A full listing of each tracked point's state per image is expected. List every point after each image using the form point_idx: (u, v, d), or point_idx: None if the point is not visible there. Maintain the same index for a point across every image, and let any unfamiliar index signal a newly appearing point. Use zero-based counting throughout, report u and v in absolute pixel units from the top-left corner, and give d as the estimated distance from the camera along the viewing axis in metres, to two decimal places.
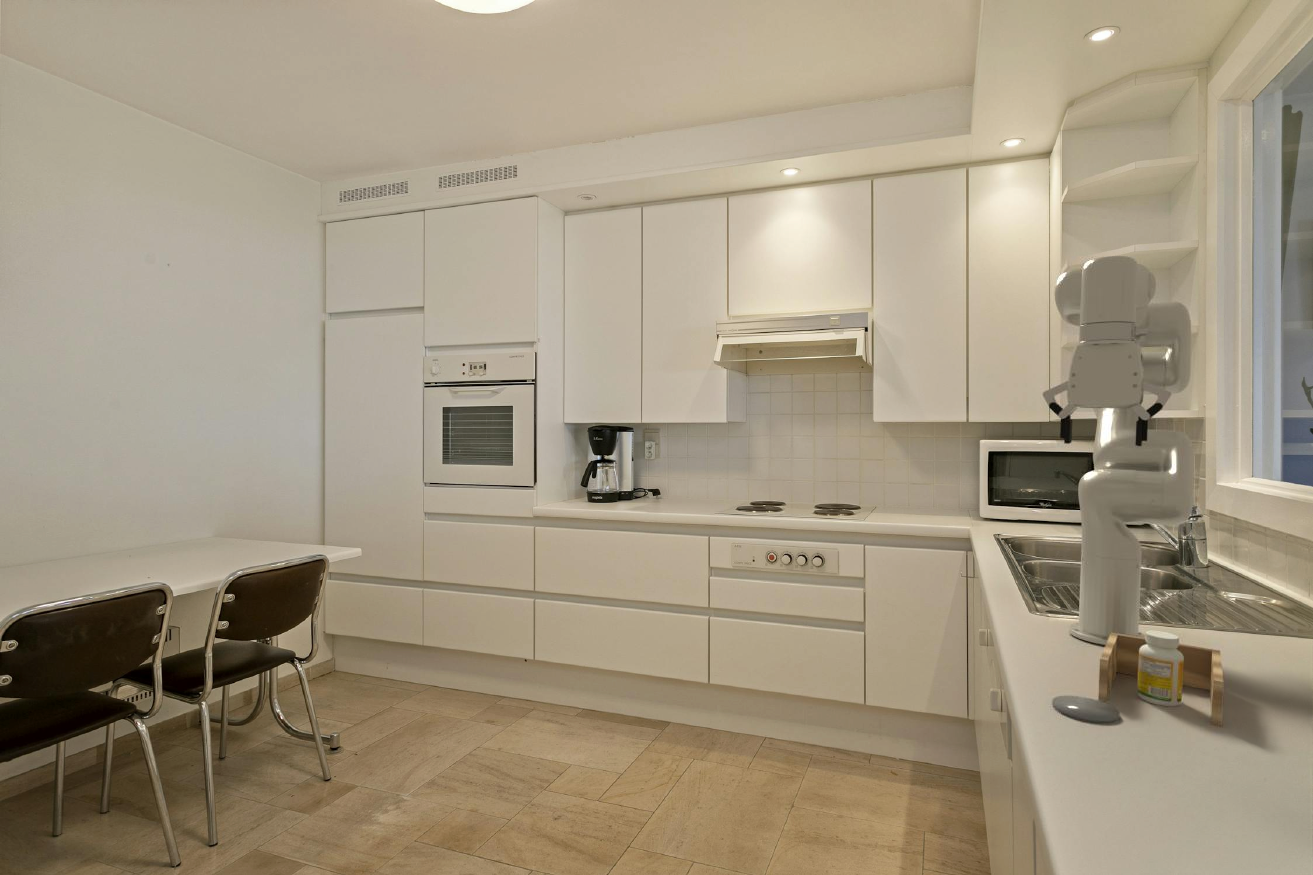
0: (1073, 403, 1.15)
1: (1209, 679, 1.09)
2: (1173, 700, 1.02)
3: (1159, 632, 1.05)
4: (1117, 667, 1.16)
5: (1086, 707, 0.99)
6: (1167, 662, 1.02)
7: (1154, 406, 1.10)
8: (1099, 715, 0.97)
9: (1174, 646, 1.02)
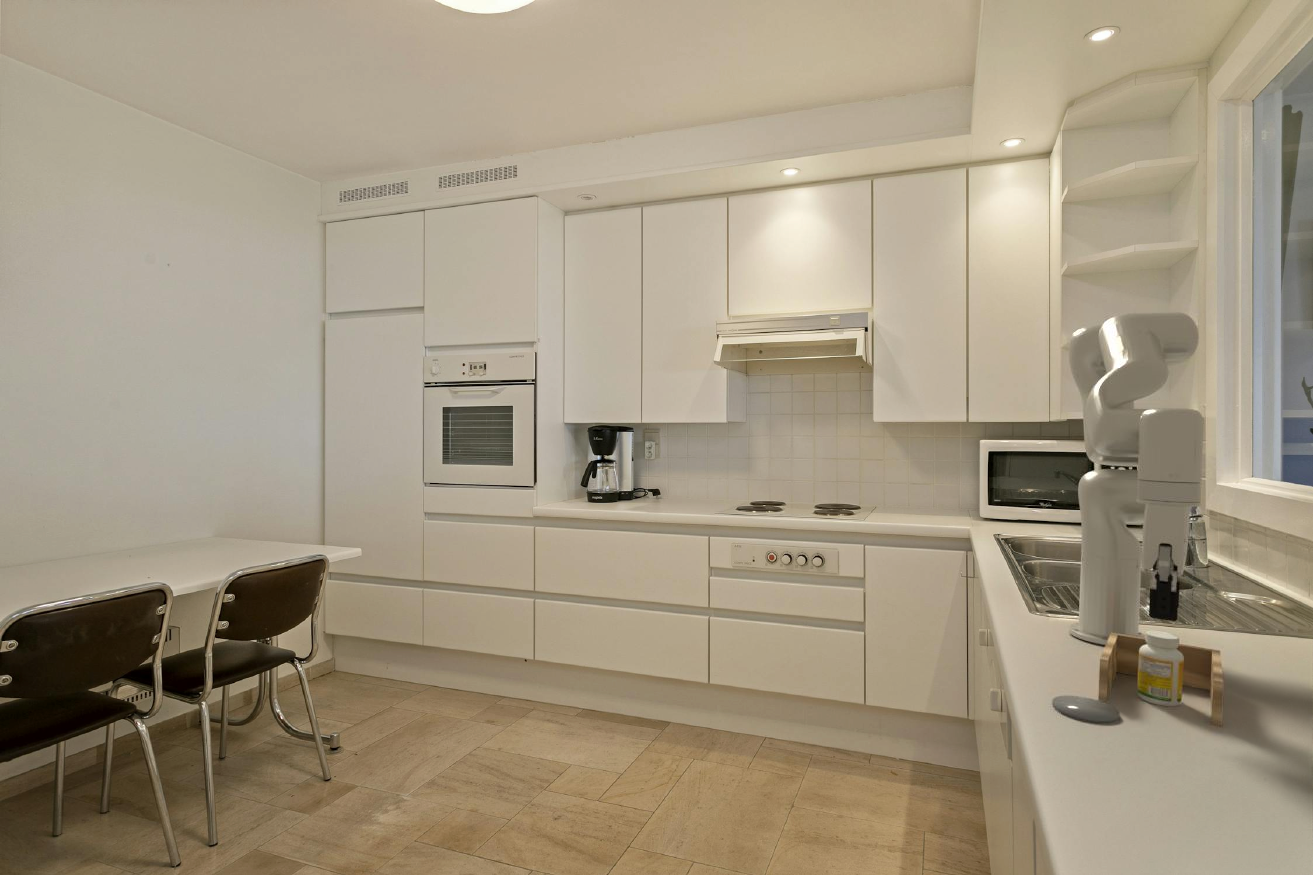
0: (1181, 573, 0.99)
1: (1209, 679, 1.09)
2: (1173, 700, 1.02)
3: (1159, 632, 1.05)
4: (1117, 667, 1.16)
5: (1086, 707, 0.99)
6: (1167, 662, 1.02)
7: None
8: (1099, 715, 0.97)
9: (1174, 646, 1.02)
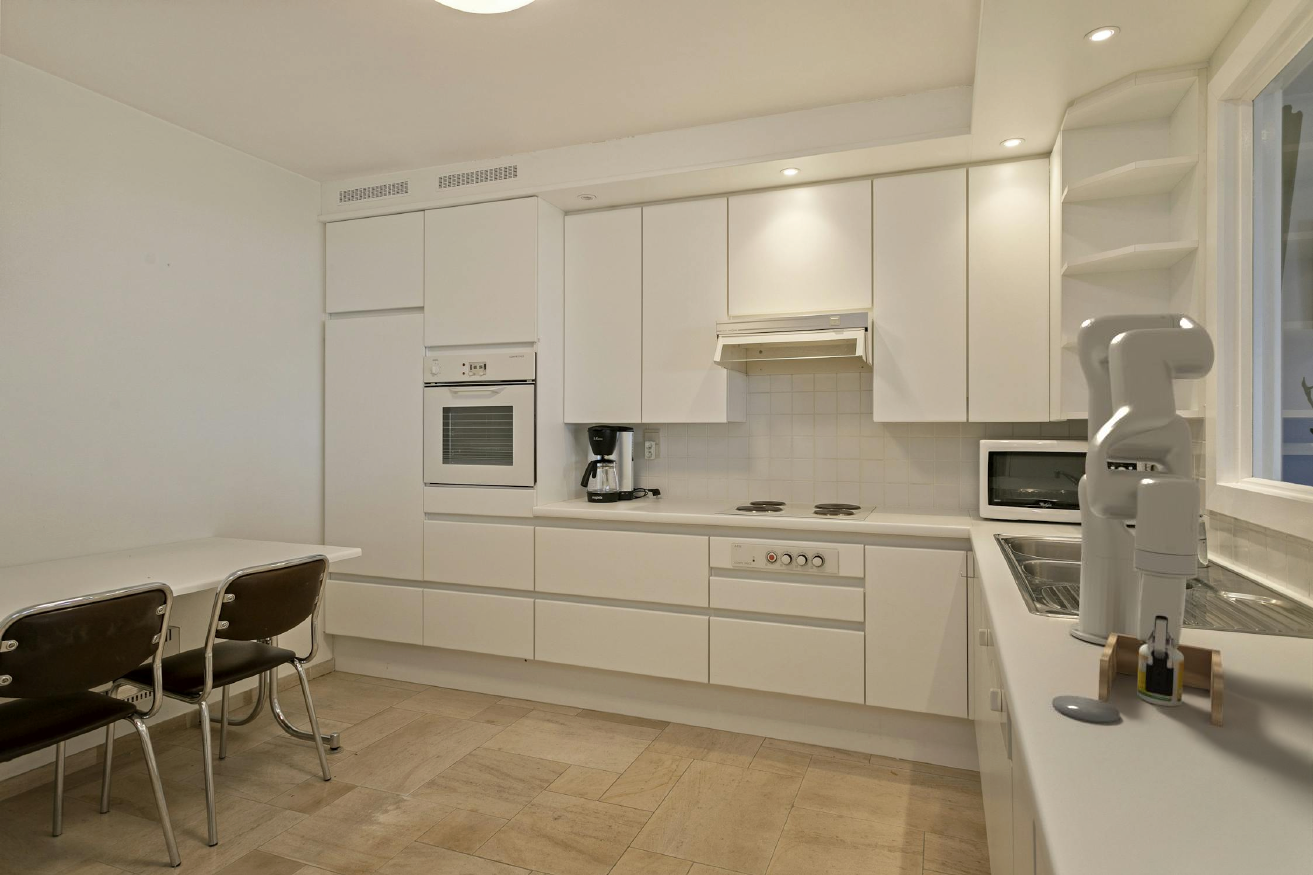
0: (1177, 645, 1.00)
1: (1209, 679, 1.09)
2: (1173, 700, 1.02)
3: None
4: (1117, 667, 1.16)
5: (1086, 707, 0.99)
6: None
7: None
8: (1099, 715, 0.97)
9: None
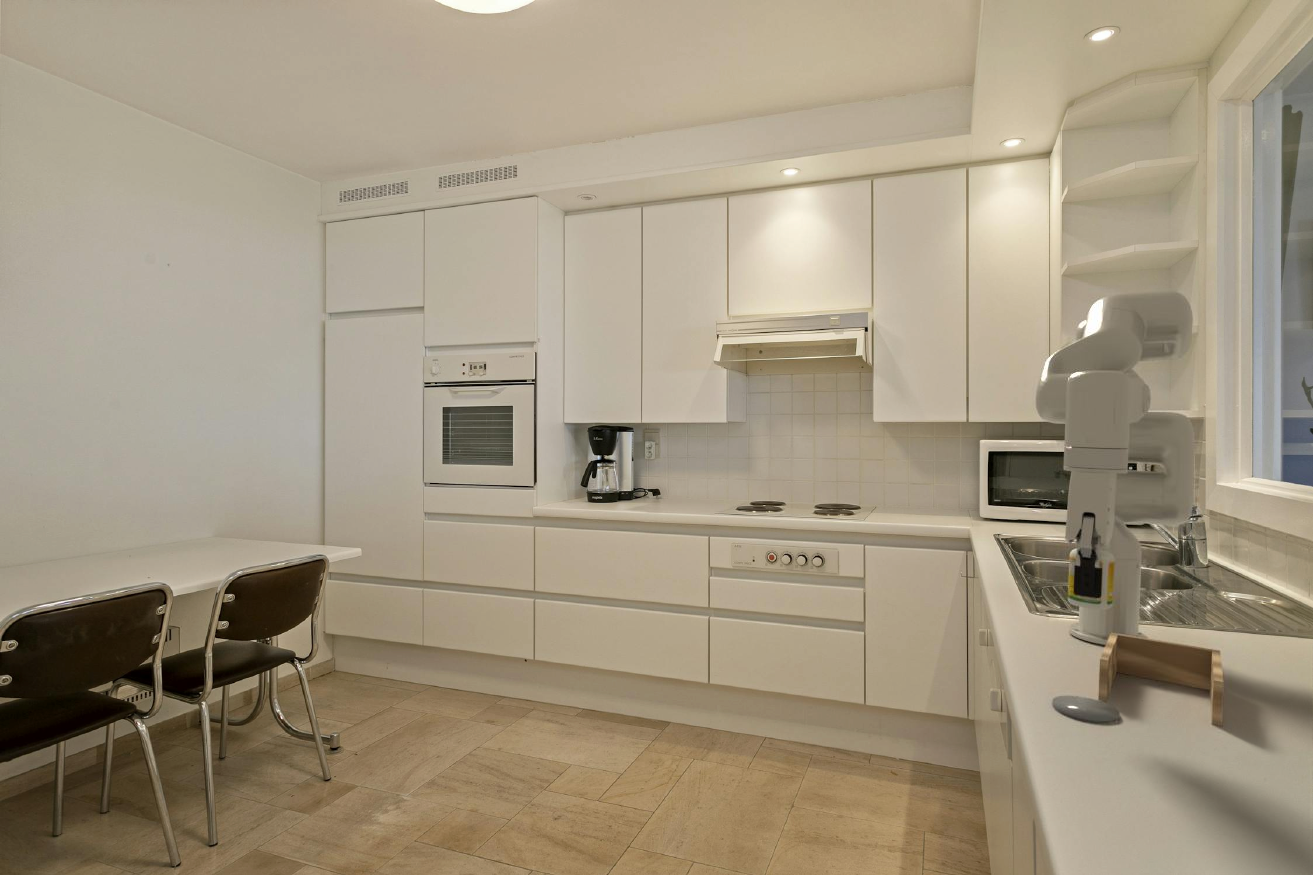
0: (1105, 543, 0.95)
1: (1209, 679, 1.09)
2: (1103, 603, 0.97)
3: None
4: (1117, 667, 1.16)
5: (1086, 707, 0.99)
6: None
7: None
8: (1099, 715, 0.97)
9: (1104, 546, 0.97)
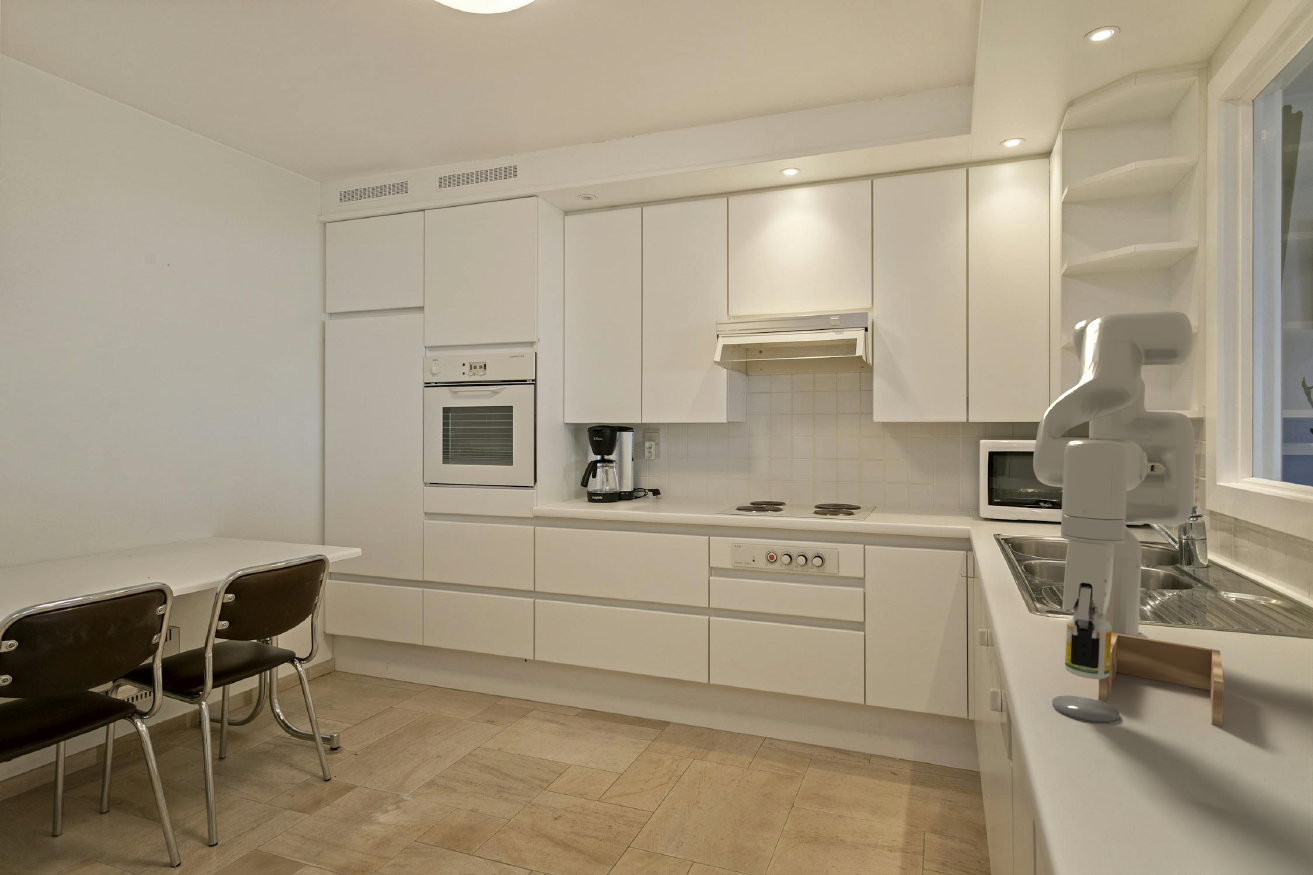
0: (1102, 614, 0.95)
1: (1209, 679, 1.09)
2: (1100, 673, 0.97)
3: None
4: (1117, 667, 1.16)
5: (1086, 707, 0.99)
6: None
7: None
8: (1099, 715, 0.97)
9: (1101, 616, 0.97)
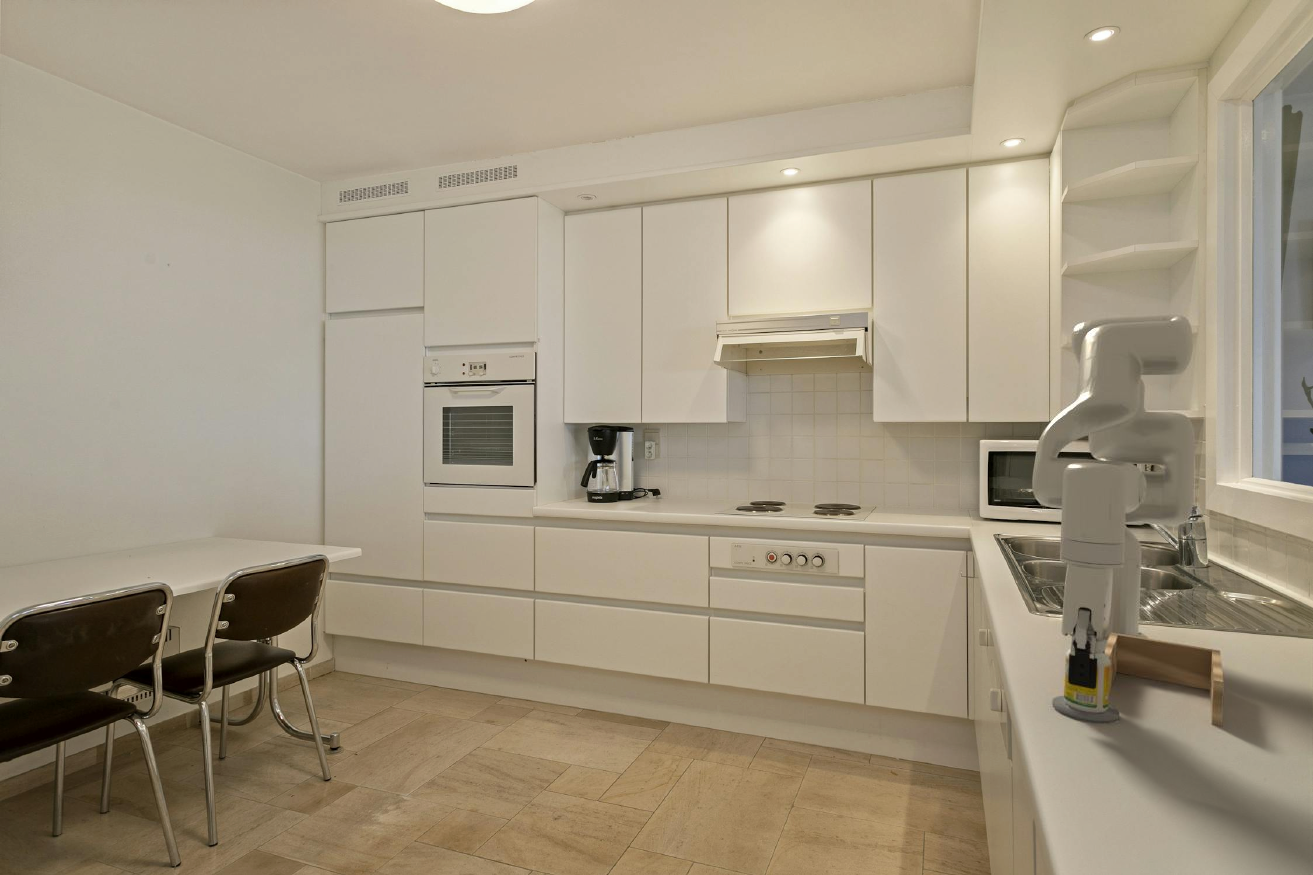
0: (1101, 639, 0.95)
1: (1209, 679, 1.09)
2: (1099, 707, 0.97)
3: None
4: (1117, 667, 1.16)
5: None
6: None
7: None
8: (1099, 715, 0.97)
9: (1100, 650, 0.98)
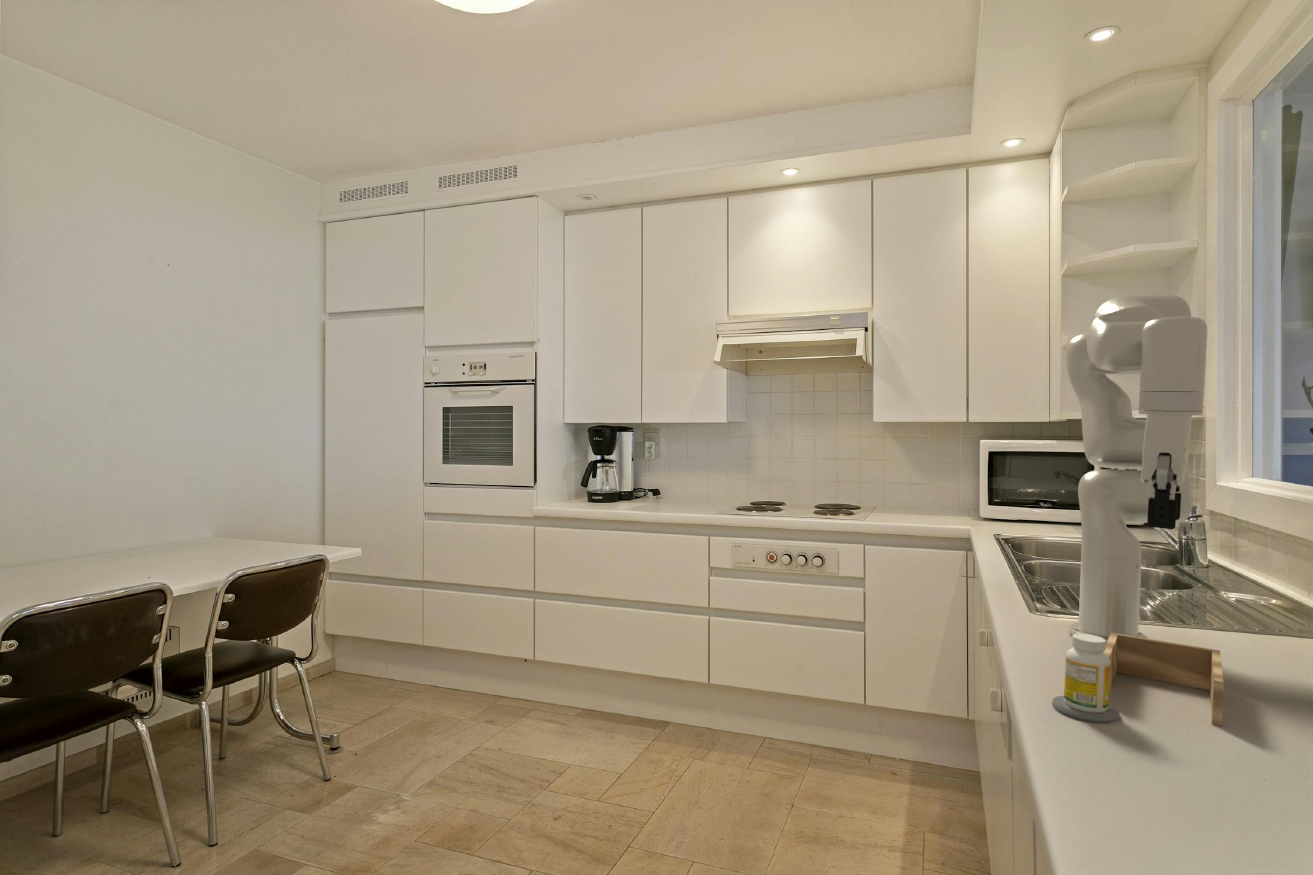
0: (1181, 482, 0.99)
1: (1209, 679, 1.09)
2: (1099, 707, 0.97)
3: (1086, 635, 1.01)
4: (1117, 667, 1.16)
5: None
6: (1092, 666, 0.97)
7: None
8: (1099, 715, 0.97)
9: (1100, 650, 0.98)
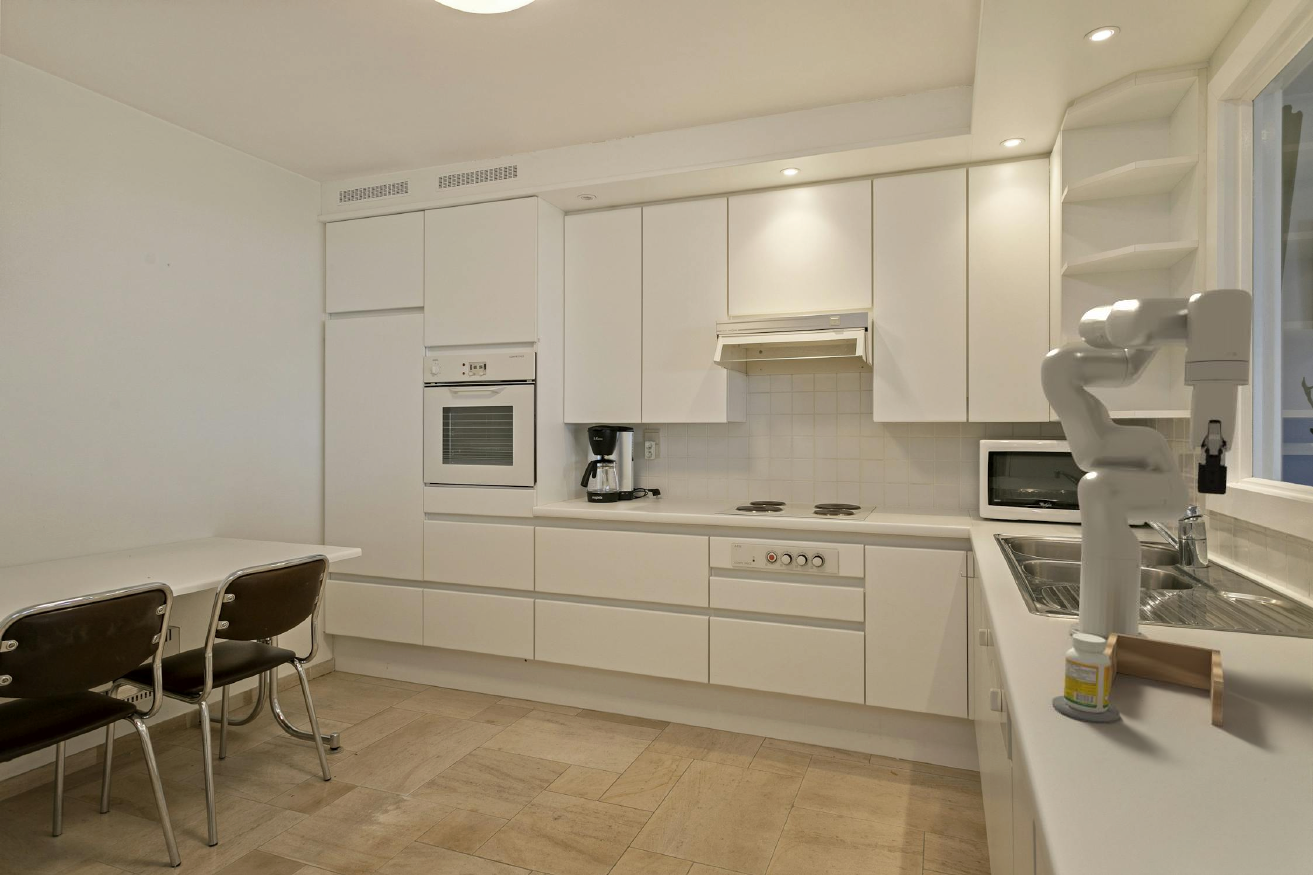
0: (1230, 448, 1.02)
1: (1209, 679, 1.09)
2: (1099, 707, 0.97)
3: (1086, 635, 1.01)
4: (1117, 667, 1.16)
5: None
6: (1092, 666, 0.97)
7: None
8: (1099, 715, 0.97)
9: (1100, 650, 0.98)
